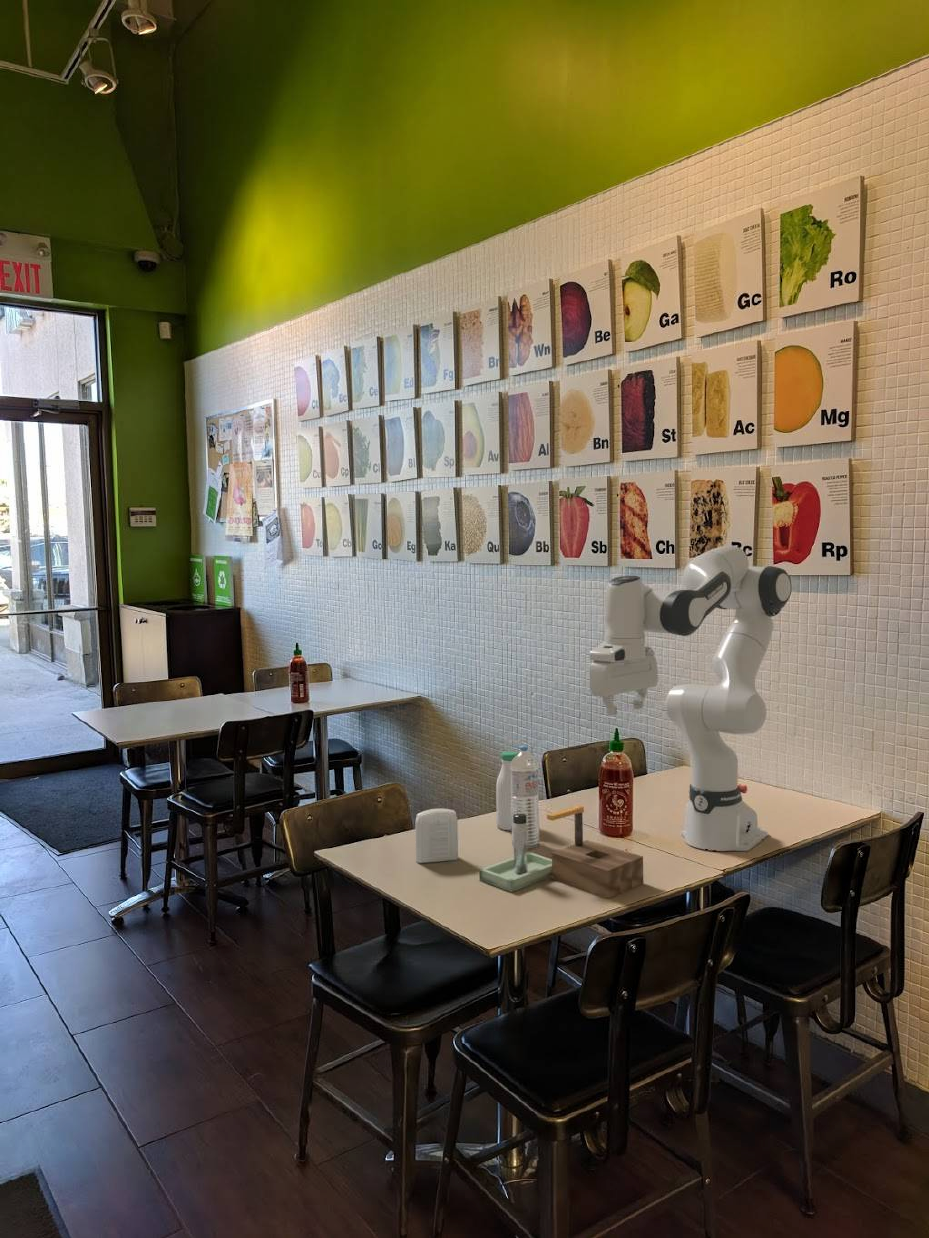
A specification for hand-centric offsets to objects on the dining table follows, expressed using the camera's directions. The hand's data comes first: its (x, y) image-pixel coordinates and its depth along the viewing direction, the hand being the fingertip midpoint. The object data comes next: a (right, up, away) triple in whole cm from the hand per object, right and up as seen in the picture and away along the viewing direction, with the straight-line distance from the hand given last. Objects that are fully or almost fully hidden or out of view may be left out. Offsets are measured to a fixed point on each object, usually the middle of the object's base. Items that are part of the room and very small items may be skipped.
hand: (625, 711), depth 203 cm
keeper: (-13, -24, +2) cm, 27 cm away
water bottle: (-21, -36, +24) cm, 48 cm away
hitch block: (-6, -38, -1) cm, 38 cm away
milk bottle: (-23, -35, +39) cm, 57 cm away
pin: (-23, -37, +3) cm, 43 cm away
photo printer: (-42, -37, +15) cm, 58 cm away
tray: (-23, -38, +3) cm, 44 cm away
